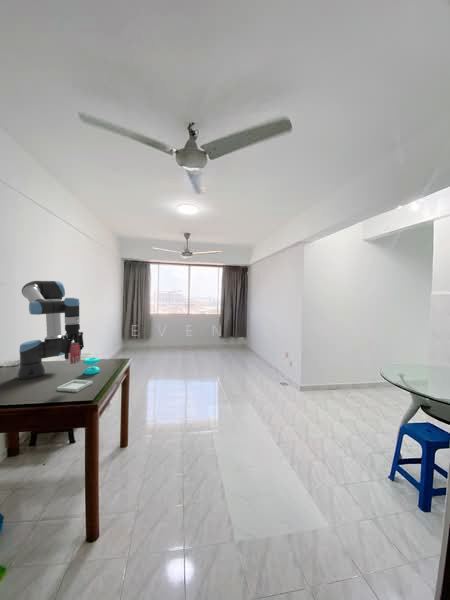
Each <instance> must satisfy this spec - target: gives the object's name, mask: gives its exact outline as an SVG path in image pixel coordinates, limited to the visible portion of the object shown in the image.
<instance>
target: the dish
mask: <svg viewBox="0 0 450 600" xmlns="http://www.w3.org/2000/svg"><path fill="white" fill-rule="evenodd" d="M93 381H94V380H83V379H73V380H70V381H68V382H66V383H64V384H62V385H59V386H57V387H56V391H57V392H67V393H68V392H70V393H78V392H79V391H82V390H83V389H86V388H88V387H89V386H91V385H93Z"/></svg>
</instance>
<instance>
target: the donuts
mask: <svg viewBox="0 0 450 600" xmlns="http://www.w3.org/2000/svg"><path fill="white" fill-rule="evenodd" d="M99 362H100V358H99V357H95V356H94V357H93V356H91V357H87V358H85V359H84V360H83V362H82V363H83V364H84V365H86V366H88V367H86V368H84V370H83V374H84V375H88V376H89V375H95V374H98V373H99V372H100V370H101V369H100V367H98V366H92V365H96V364H98V363H99Z"/></svg>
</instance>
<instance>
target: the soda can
mask: <svg viewBox="0 0 450 600" xmlns="http://www.w3.org/2000/svg"><path fill="white" fill-rule="evenodd" d="M69 353H70V363H71V364H70V365H76V364H79V363H80V362H81V361H80V345H79V344H78V342H77V343H75V342H73V341H72V343H71V347H70V350H69Z"/></svg>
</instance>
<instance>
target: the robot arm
mask: <svg viewBox="0 0 450 600" xmlns="http://www.w3.org/2000/svg"><path fill="white" fill-rule="evenodd" d="M21 294H22V296H23V297H24V298H25V299H27V301H28V302H29V303H28V312H29V314H30V315H36V316H39V315H45V321H46V323H45V324H46V336H45V338H44V341H42V340H41V339H36V340H35V339H34V340H29V341H25V342H23V343H21V344H20V345H19V350H18V351H19V368H18V370H17V374H16V378H17V379H18V380H29V379H35V378H38V377H43V376H44V375H45V374H46V369H45V367H44V364H43V361H42V359H49V358H54V357H59V356H61V357H62V356H63V355H64V359H65V365H72V364H71V363H70V353H69V350H70V347H71V343H72V342H73V341H74V342H75V343H77V342H78V344H79V345H80V362H81V360H82V358H81V356H82V350H83V349H84V336H83V335H84V332H83V331H80V329H81V328H80V327H81V325H80V303H81V302H80V299H79V298H78V297H65V295H66V292H65V286H64V284H63V283H62V282H61V281H58V280H57V281H56V280H32V281H29V282H28V283H25V284H24V286H22V288H21ZM64 297H65V298H64ZM63 298H64V300H63ZM61 314H64V331H65V332H66V333H65V334H64V335H63V334H62V322H61V321H62V320H61V319H62V317H61Z"/></svg>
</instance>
